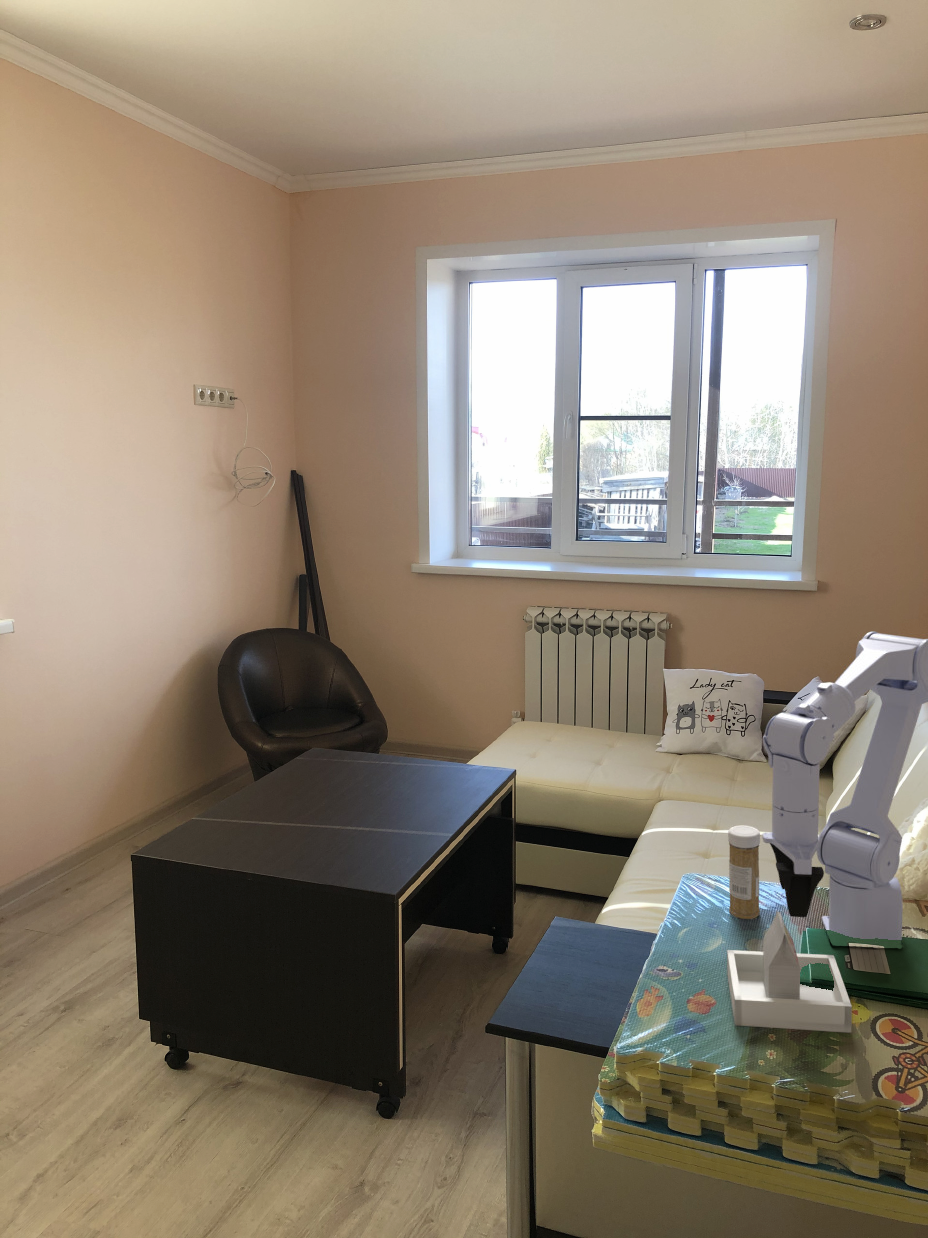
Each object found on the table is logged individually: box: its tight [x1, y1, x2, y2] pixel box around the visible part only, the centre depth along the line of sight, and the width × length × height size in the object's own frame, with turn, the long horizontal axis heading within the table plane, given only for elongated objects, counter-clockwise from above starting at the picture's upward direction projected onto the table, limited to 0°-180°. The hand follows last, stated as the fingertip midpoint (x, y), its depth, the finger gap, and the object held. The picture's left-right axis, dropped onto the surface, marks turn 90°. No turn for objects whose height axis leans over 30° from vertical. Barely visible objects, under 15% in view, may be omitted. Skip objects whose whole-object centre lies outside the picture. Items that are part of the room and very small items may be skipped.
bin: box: [726, 949, 853, 1034], centre depth 121 cm, size 14×12×4 cm
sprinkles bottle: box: [727, 824, 761, 920], centre depth 143 cm, size 5×5×14 cm
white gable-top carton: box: [762, 909, 800, 1000], centre depth 120 cm, size 4×7×10 cm, turn 168°
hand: (793, 901), depth 125 cm, fingers open, 7 cm apart
